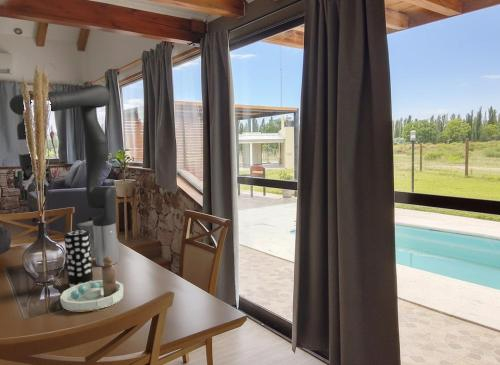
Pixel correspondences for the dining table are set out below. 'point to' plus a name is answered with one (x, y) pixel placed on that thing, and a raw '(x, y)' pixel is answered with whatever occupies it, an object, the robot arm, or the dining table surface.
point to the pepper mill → (108, 277)
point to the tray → (89, 296)
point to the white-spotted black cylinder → (78, 257)
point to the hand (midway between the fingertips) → (35, 198)
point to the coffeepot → (89, 226)
